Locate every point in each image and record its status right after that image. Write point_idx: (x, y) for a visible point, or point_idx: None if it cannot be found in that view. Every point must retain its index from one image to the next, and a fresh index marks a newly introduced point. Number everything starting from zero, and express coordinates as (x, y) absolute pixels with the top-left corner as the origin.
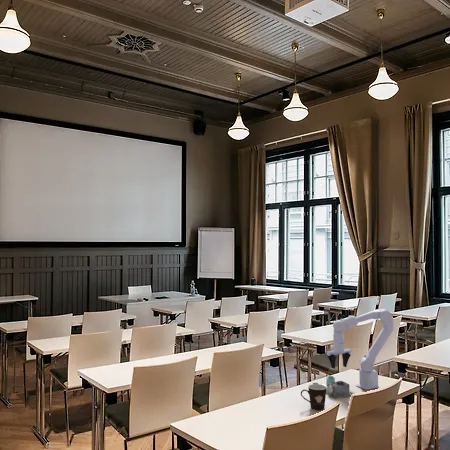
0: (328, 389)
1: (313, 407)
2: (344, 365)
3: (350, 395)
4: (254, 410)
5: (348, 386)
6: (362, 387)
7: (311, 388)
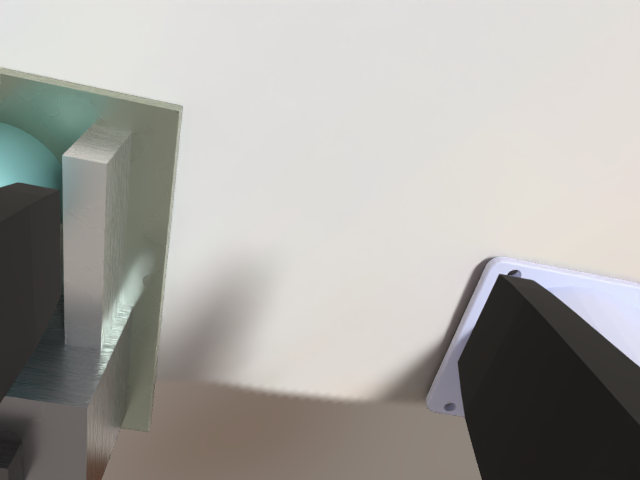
0: None
1: None
2: (483, 356)
3: (123, 421)
4: None
5: None
6: (451, 367)
7: None
